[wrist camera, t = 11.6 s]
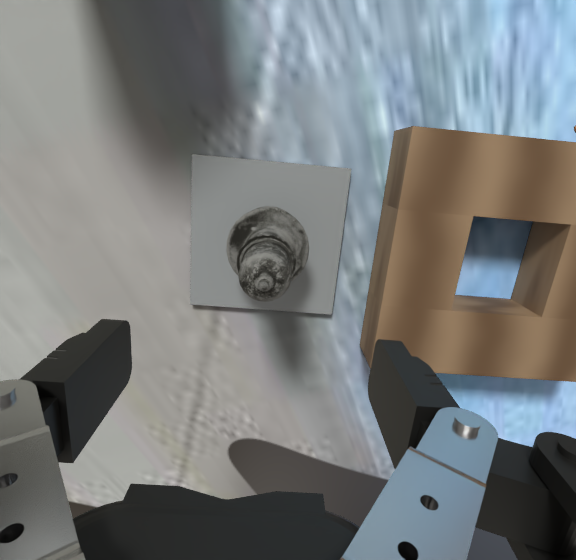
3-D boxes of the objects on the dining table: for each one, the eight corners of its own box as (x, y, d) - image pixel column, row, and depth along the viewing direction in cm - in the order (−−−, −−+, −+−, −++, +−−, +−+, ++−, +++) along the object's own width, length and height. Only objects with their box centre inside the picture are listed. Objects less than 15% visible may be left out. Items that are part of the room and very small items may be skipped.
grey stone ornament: (306, 273, 31) (324, 339, 19) (235, 276, 31) (210, 344, 19) (304, 200, 29) (322, 225, 17) (228, 203, 29) (197, 231, 17)
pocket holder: (620, 153, 29) (672, 152, 25) (551, 358, 34) (585, 382, 31) (394, 131, 28) (412, 126, 24) (359, 345, 33) (370, 368, 30)
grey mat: (349, 168, 29) (351, 168, 28) (330, 311, 32) (331, 314, 32) (193, 154, 28) (191, 153, 28) (191, 301, 32) (190, 304, 31)
